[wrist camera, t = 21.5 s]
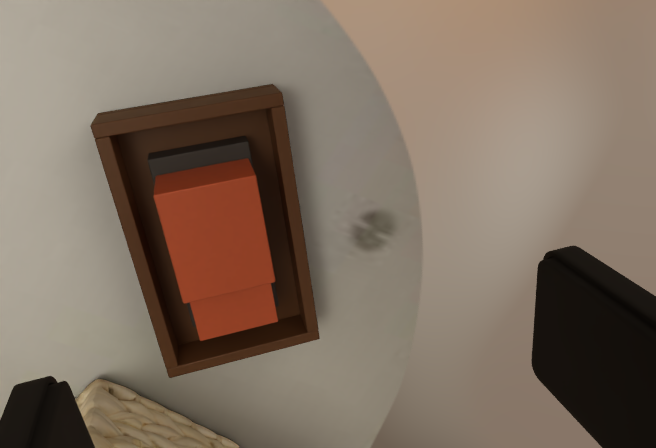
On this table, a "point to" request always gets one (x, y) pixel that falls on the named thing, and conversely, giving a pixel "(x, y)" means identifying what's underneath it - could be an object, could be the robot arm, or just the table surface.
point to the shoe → (216, 235)
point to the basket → (139, 421)
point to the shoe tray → (148, 237)
